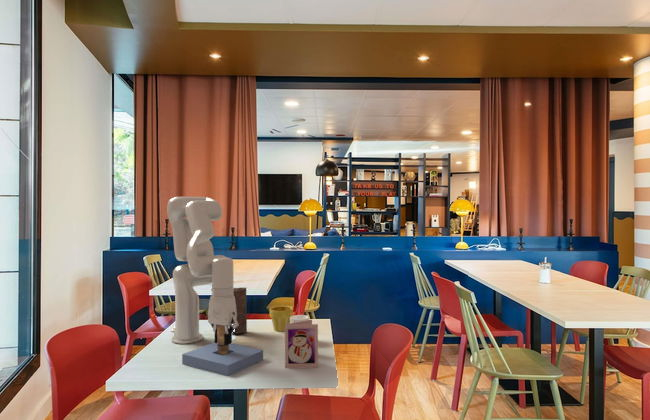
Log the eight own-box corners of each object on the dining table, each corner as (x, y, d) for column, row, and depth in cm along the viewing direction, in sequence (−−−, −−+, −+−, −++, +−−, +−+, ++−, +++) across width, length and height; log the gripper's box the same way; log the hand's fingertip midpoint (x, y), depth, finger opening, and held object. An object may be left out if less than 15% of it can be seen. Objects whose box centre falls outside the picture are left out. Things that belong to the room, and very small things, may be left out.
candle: (242, 336, 191) (242, 289, 191) (226, 335, 193) (226, 289, 193) (249, 331, 199) (249, 286, 199) (234, 330, 200) (233, 286, 200)
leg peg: (214, 355, 159) (214, 321, 159) (223, 352, 162) (222, 319, 162) (223, 357, 157) (223, 323, 157) (231, 353, 160) (231, 320, 160)
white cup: (295, 345, 178) (295, 320, 178) (286, 340, 185) (286, 316, 185) (312, 342, 182) (312, 318, 182) (303, 337, 189) (303, 314, 189)
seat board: (182, 363, 158) (182, 354, 158) (218, 349, 173) (218, 340, 173) (228, 375, 146) (228, 365, 146) (263, 359, 162) (263, 350, 162)
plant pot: (268, 333, 196) (268, 311, 196) (271, 326, 206) (270, 305, 206) (291, 332, 196) (291, 310, 196) (293, 326, 206) (293, 305, 206)
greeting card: (284, 368, 153) (284, 325, 153) (286, 361, 160) (286, 319, 160) (318, 368, 153) (317, 324, 153) (317, 360, 160) (317, 319, 160)
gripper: (198, 291, 161) (198, 342, 161) (232, 296, 152) (233, 349, 152) (213, 288, 167) (213, 337, 167) (247, 292, 158) (248, 343, 158)
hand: (223, 342), depth 160 cm, fingers closed on leg peg, 4 cm apart
